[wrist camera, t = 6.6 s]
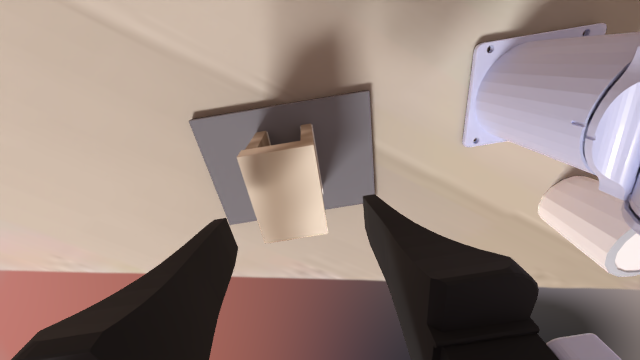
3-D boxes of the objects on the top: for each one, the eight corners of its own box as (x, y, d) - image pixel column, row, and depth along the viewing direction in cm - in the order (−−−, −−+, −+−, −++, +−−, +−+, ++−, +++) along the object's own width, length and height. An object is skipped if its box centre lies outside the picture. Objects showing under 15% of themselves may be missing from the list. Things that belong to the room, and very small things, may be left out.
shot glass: (537, 236, 27) (607, 289, 21) (526, 192, 24) (604, 238, 18) (602, 207, 26) (699, 254, 19) (599, 157, 23) (710, 193, 17)
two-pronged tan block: (310, 120, 19) (313, 144, 13) (322, 190, 22) (328, 233, 16) (255, 129, 19) (236, 157, 13) (274, 198, 22) (265, 243, 16)
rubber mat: (367, 90, 19) (369, 91, 18) (373, 198, 23) (375, 202, 23) (191, 119, 19) (188, 121, 18) (231, 221, 23) (229, 225, 23)
